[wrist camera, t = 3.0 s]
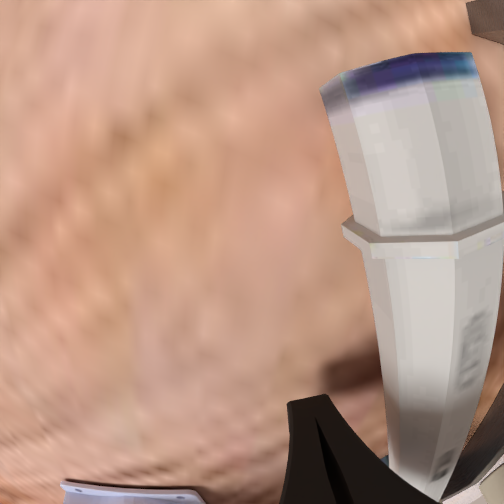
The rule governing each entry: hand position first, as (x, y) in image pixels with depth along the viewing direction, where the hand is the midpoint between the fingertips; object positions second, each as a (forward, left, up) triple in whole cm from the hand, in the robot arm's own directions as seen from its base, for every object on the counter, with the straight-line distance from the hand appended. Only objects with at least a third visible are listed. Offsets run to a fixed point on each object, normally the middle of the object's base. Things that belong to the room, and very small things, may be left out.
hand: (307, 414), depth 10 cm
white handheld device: (+5, -2, -2) cm, 5 cm away
